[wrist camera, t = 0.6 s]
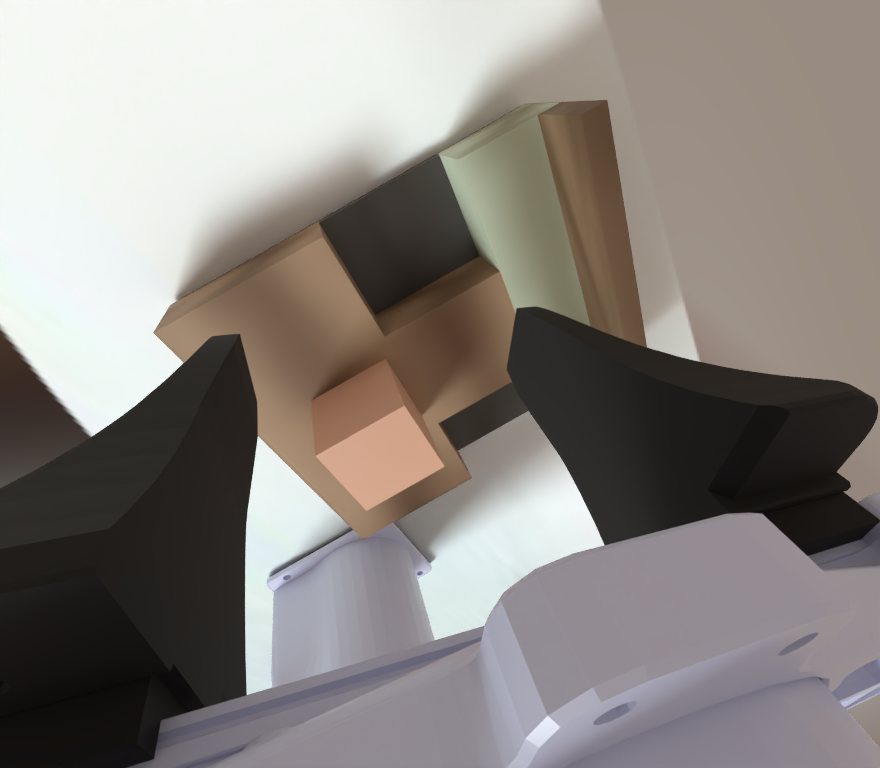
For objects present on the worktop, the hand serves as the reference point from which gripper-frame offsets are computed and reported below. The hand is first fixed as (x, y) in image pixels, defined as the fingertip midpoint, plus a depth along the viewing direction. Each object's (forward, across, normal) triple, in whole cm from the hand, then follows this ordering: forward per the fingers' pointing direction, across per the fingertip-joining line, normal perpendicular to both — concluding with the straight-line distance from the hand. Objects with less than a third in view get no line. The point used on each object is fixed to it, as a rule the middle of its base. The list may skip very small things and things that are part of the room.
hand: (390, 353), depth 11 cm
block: (+7, 0, +8) cm, 10 cm away
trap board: (+10, -4, +6) cm, 12 cm away
